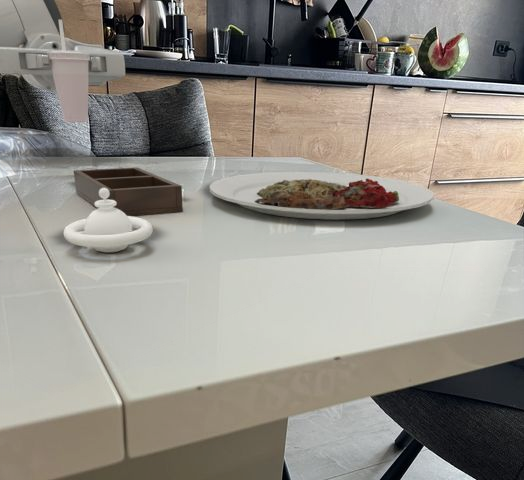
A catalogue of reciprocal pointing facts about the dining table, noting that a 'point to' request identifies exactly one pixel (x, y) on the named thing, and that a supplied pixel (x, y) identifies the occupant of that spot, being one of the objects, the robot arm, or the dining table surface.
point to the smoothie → (70, 81)
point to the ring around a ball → (107, 227)
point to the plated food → (321, 194)
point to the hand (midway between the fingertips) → (70, 62)
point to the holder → (130, 190)
